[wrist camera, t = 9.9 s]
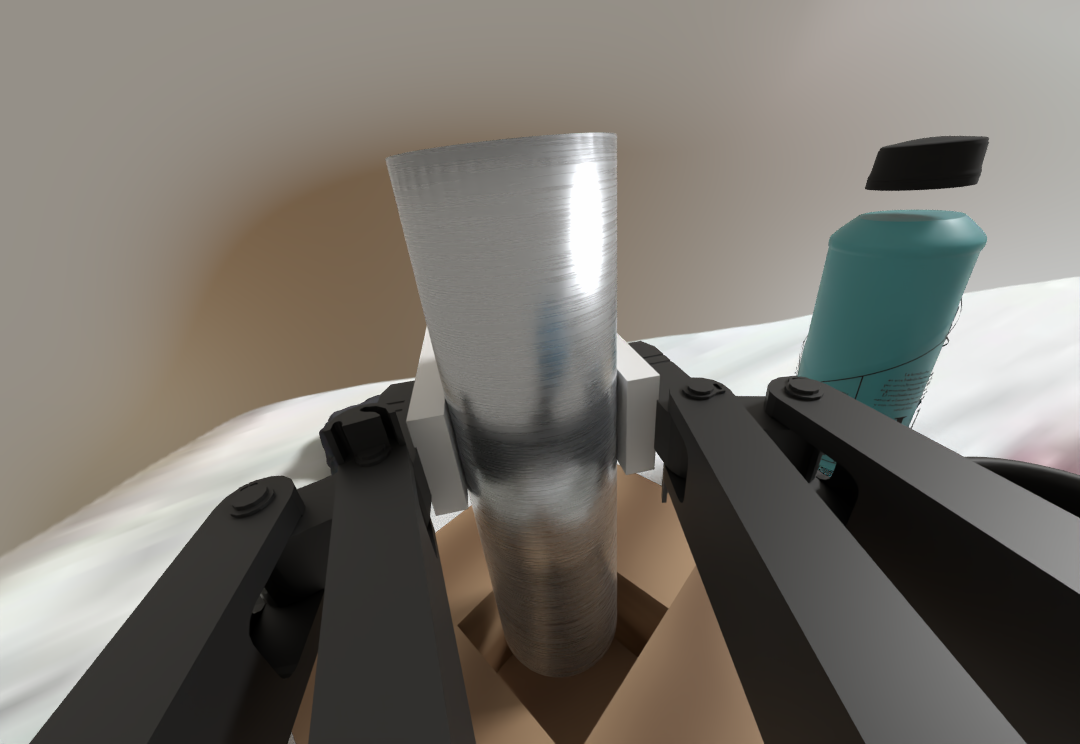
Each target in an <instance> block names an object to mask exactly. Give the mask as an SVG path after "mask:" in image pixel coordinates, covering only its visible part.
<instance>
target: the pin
mask: <svg viewBox="0 0 1080 744" xmlns="http://www.w3.org/2000/svg"><path fill="white" fill-rule="evenodd" d="M386 163H387V167H388V171H389V175H390V179H391V183H392V187H393V191H394V195H395V199H396V203H397V207H398V211H399V215H400V219H401V223H402V227H403V231H404V235H405V239H406V243H407V247H408V251H409V255H410V259H411V263H412V267H413V271H414V275H415V279H416V283H417V287H418V291H419V295H420V299H421V303H422V307H423V311H424V315H425V319H426V323H427V327H428V331H429V335H430V339H431V343H432V347H433V351H434V355H435V359H436V363H437V367H438V371H439V375H440V379H441V383H442V387H443V391H444V395H445V399H446V403H447V407H448V411H449V415H450V419H451V423H452V427H453V431H454V435H455V439H456V443H457V447H458V451H459V455H460V459H461V463H462V467H463V471H464V475H465V479H466V483H467V487H468V492H469V496H470V500H471V504H472V508H473V512H474V516H475V520H476V524H477V528H478V532H479V536H480V540H481V544H482V548H483V552H484V556H485V560H486V564H487V568H488V572H489V576H490V580H491V584H492V588H493V592H494V596H495V600H496V604H497V608H498V612H499V616H500V620H501V624H502V628H503V632H504V636H505V639H506V641H507V644H508V646H509V648H510V649H511V651H512V653H513V654H514V655H515V656H516V658H517V659H518V660H519V661H520V662H521V663H522V664H523V665H525V666H526V667H527V668H529V669H530V670H532V671H534V672H536V673H539V674H542V675H545V676H550V677H569V676H573V675H576V674H580V673H582V672H584V671H586V670H588V669H589V668H591V667H592V666H594V665H595V664H596V663H597V662H598V661H599V660H600V659H601V658H602V657H603V656H604V654H605V653H606V652H607V650H608V648H609V647H610V645H611V643H612V640H613V638H614V634H615V631H616V624H617V134H614V133H574V134H558V135H546V136H532V137H522V138H511V139H502V140H492V141H483V142H475V143H467V144H460V145H451V146H445V147H438V148H431V149H424V150H418V151H413V152H407V153H402V154H398V155H394V156H390V157H387V158H386Z"/></svg>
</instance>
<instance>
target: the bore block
mask: <svg viewBox="0 0 1080 744" xmlns="http://www.w3.org/2000/svg"><path fill="white" fill-rule="evenodd" d="M661 493H662V486H661V485H659V484H657V483H655V482H653V481H651V480H649V479H647V478H644V477H642V476H640V475H638V474H636V473H634V474H629V475H626V474H625V473H624V471H623V469H622V467H621V466H620V465H618V464H617V624H616V631H615V634H614V638H613V640H612V643H611V645H610V647H609V648H608V650H607V652H606V653H605V654H604V656H603V657H602V658H601V659H600V660H599V661H598V662H597V663H596V664H595V665H594V666H592V667H591V668H589V669H588V670H586V671H584V672H582V673H580V674H576V675H573V676H569V677H550V676H545V675H542V674H539V673H536V672H534V671H532V670H530V669H529V668H527V667H526V666H525V665H523V664H522V663H521V662H520V661H519V660H518V659H517V658H516V656H515V655H514V654H513V653H512V651H511V649H510V648H509V646H508V644H507V641H506V639H505V636H504V632H503V628H502V624H501V620H500V616H499V612H498V608H497V604H496V600H495V596H494V592H493V588H492V584H491V580H490V576H489V572H488V568H487V564H486V560H485V556H484V552H483V548H482V544H481V540H480V536H479V532H478V528H477V524H476V520H475V516H474V512H473V508H472V505H471V506H470V507H469V508H468V509H466V510H465V511H463V512H462V513H461V514H459V515H458V516H457V517H455V518H454V519H453V520H452V521H450V522H449V523H448V524H446V525H445V526H444V527H442V528H441V529H440V530H438V531H437V532H436V533H435V535H436V540H437V545H438V550H439V555H440V561H441V566H442V571H443V576H444V581H445V586H446V591H447V596H448V602H449V607H450V612H451V617H452V622H453V627H454V632H455V637H456V643H457V648H458V653H459V658H460V663H461V668H462V673H463V678H464V684H465V689H466V694H467V699H468V704H469V709H470V714H471V719H472V725H473V730H474V735H475V740H476V744H764V742H763V740H762V737H761V734H760V732H759V729H758V726H757V724H756V721H755V719H754V716H753V713H752V711H751V708H750V705H749V703H748V700H747V698H746V695H745V692H744V690H743V687H742V684H741V682H740V679H739V677H738V674H737V671H736V669H735V666H734V663H733V661H732V658H731V656H730V653H729V650H728V648H727V645H726V642H725V640H724V637H723V635H722V632H721V629H720V627H719V624H718V621H717V619H716V616H715V614H714V611H713V608H712V606H711V603H710V600H709V598H708V595H707V593H706V590H705V587H704V585H703V582H702V579H701V577H700V574H699V572H698V569H697V566H696V564H695V561H694V558H693V556H692V553H691V551H690V548H689V545H688V543H687V540H686V537H685V535H684V532H683V530H682V527H681V524H680V522H679V519H678V516H677V514H676V511H675V509H674V506H673V503H672V501H671V498H670V495H669V493H668V494H667V502H666V503H662V498H661ZM317 657H318V654H317ZM317 657H316V660H315V663H314V666H313V669H312V672H311V675H310V678H309V681H308V684H307V687H306V690H305V693H304V696H303V699H302V702H301V705H300V708H299V711H298V714H297V717H296V720H295V723H294V726H293V729H292V734H293V737H294V740H295V743H296V744H308V741H309V731H310V722H311V713H312V703H313V694H314V685H315V676H316V666H317Z"/></svg>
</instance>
